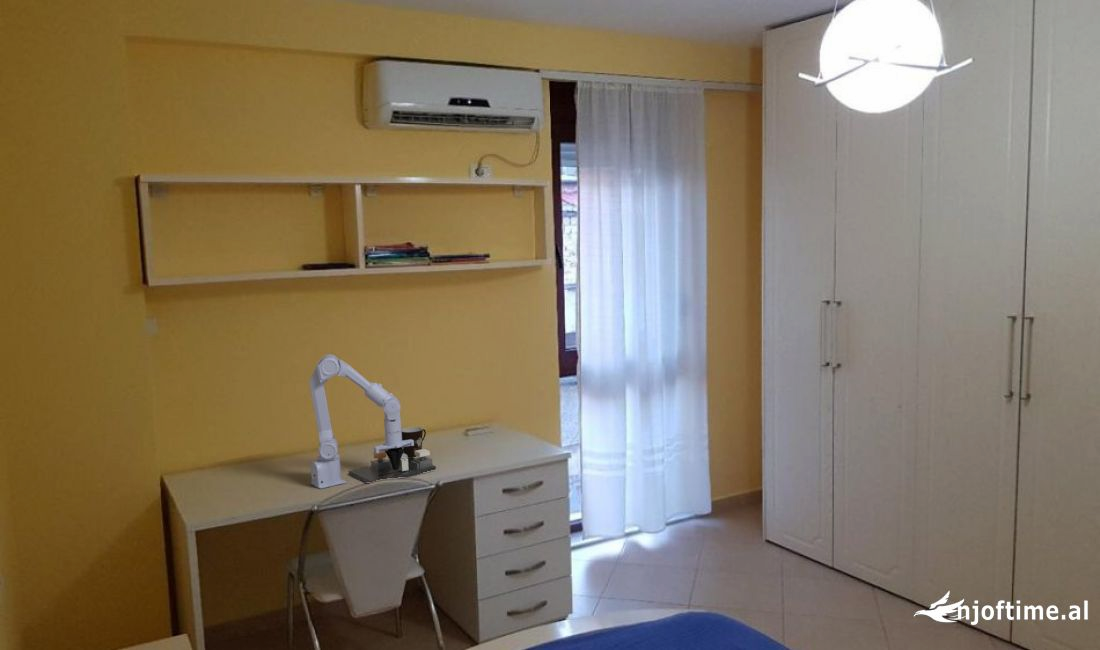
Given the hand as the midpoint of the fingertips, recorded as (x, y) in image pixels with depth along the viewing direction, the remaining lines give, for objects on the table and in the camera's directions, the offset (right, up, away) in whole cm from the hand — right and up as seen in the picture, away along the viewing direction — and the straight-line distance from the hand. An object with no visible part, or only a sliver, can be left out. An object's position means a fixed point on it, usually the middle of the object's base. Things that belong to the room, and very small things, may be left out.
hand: (395, 469), depth 289 cm
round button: (-6, +1, +6) cm, 9 cm away
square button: (+8, +2, +7) cm, 11 cm away
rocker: (-1, +2, +11) cm, 11 cm away
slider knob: (+2, 0, +2) cm, 3 cm away
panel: (-2, -2, +5) cm, 6 cm away
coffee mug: (+3, 0, +29) cm, 29 cm away
